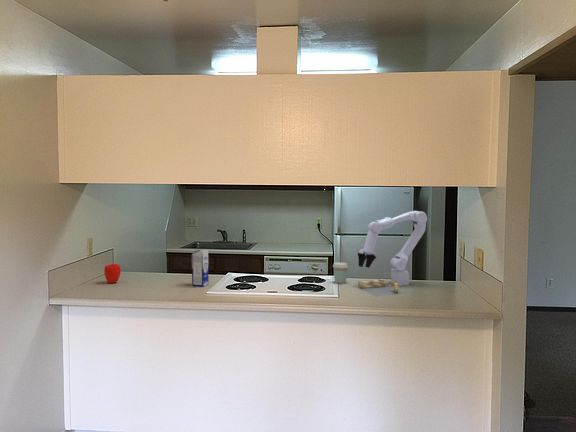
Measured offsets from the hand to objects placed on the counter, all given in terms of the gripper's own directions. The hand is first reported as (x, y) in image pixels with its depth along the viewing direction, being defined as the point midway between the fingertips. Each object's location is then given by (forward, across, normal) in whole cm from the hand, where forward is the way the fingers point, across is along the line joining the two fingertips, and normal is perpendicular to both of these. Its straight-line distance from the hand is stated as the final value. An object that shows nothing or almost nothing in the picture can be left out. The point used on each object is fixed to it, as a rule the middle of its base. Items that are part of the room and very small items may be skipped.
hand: (363, 267), depth 248 cm
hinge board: (+10, +2, +13) cm, 16 cm away
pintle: (+4, -5, +10) cm, 12 cm away
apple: (+47, +82, -107) cm, 143 cm away
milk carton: (+34, +53, -66) cm, 92 cm away
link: (+9, -1, +8) cm, 12 cm away
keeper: (+7, +2, +22) cm, 23 cm away
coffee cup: (+14, +1, -11) cm, 18 cm away
